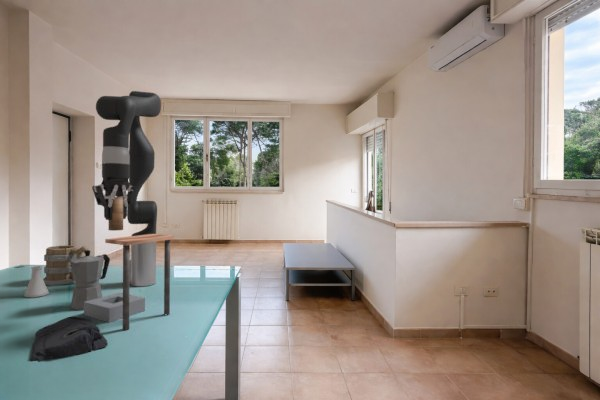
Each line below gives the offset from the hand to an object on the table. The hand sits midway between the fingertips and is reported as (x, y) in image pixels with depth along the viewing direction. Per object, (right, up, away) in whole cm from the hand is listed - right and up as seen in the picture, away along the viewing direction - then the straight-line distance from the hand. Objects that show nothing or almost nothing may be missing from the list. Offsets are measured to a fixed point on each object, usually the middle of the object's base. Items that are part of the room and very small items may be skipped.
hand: (115, 219), depth 112 cm
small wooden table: (+10, -29, -5) cm, 31 cm away
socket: (-1, -29, +1) cm, 29 cm away
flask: (-37, -28, +18) cm, 49 cm away
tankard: (-37, -28, +36) cm, 59 cm away
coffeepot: (-12, -29, +8) cm, 32 cm away
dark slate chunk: (-2, -30, -20) cm, 36 cm away
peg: (0, -3, 0) cm, 3 cm away
